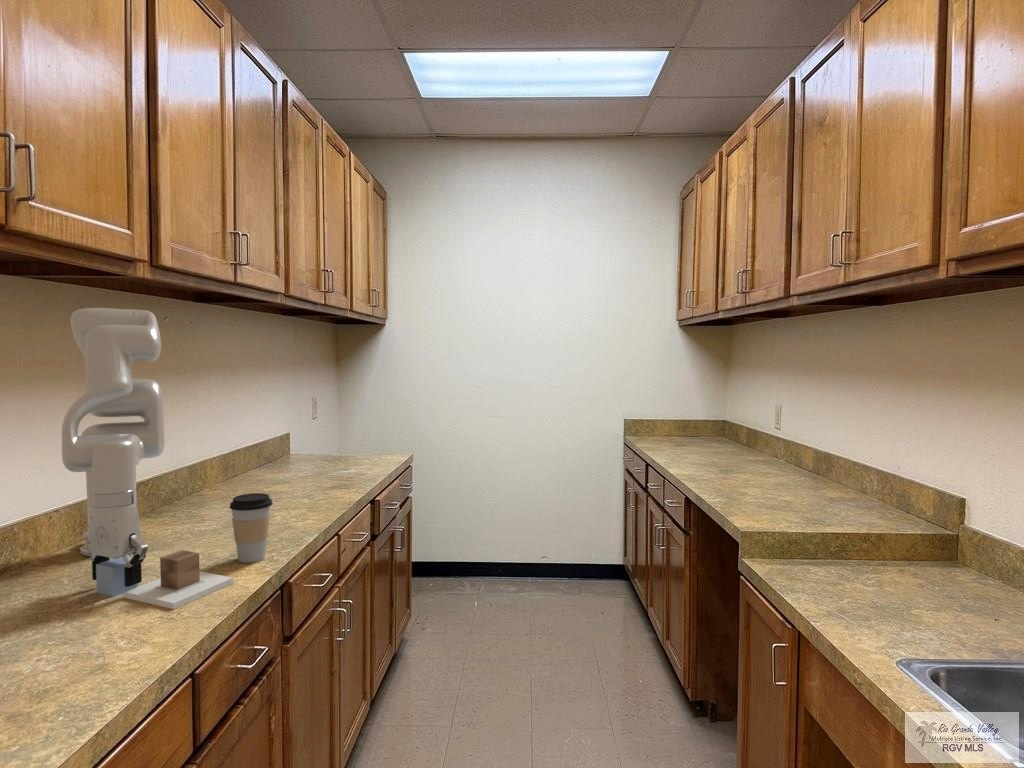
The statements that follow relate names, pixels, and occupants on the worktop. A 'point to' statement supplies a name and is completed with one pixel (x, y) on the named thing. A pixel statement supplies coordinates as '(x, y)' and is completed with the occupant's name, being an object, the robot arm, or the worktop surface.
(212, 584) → the plate
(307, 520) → the worktop surface
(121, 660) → the worktop surface
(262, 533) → the coffee cup
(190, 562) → the block walnut
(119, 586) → the block blue
